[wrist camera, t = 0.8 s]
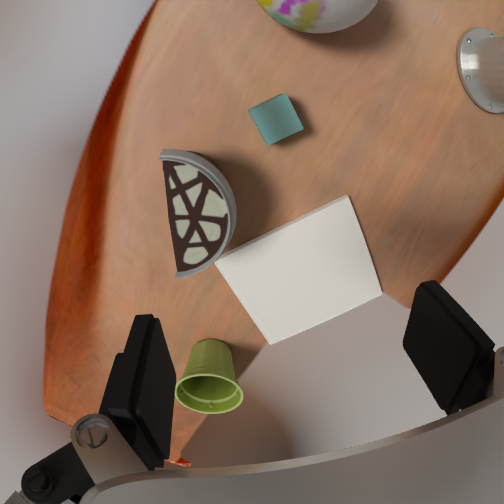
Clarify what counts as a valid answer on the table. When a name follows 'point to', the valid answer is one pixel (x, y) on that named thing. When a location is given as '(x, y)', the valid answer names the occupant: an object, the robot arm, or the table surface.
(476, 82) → the robot arm
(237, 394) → the plant pot
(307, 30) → the decorative egg
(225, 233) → the food container
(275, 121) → the teal block
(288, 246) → the cream board
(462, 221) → the table surface
